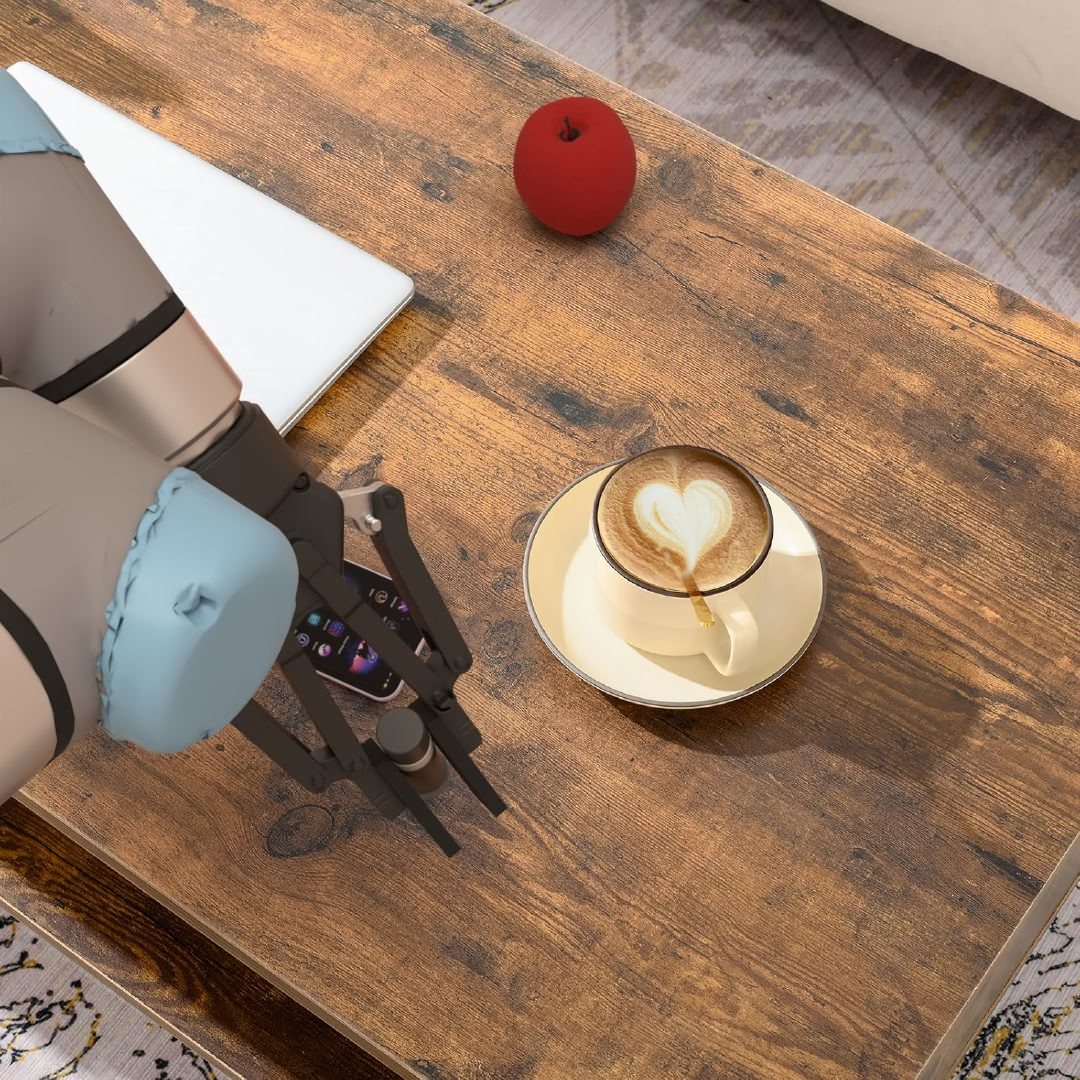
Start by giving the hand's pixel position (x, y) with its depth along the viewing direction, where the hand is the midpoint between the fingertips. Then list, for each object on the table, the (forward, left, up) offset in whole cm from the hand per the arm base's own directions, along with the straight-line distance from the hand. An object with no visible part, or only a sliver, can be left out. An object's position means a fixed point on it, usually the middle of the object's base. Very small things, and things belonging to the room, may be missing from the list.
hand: (467, 820), depth 58 cm
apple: (+36, +32, -12) cm, 49 cm away
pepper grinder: (0, +4, -3) cm, 5 cm away
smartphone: (+2, +19, -12) cm, 23 cm away
